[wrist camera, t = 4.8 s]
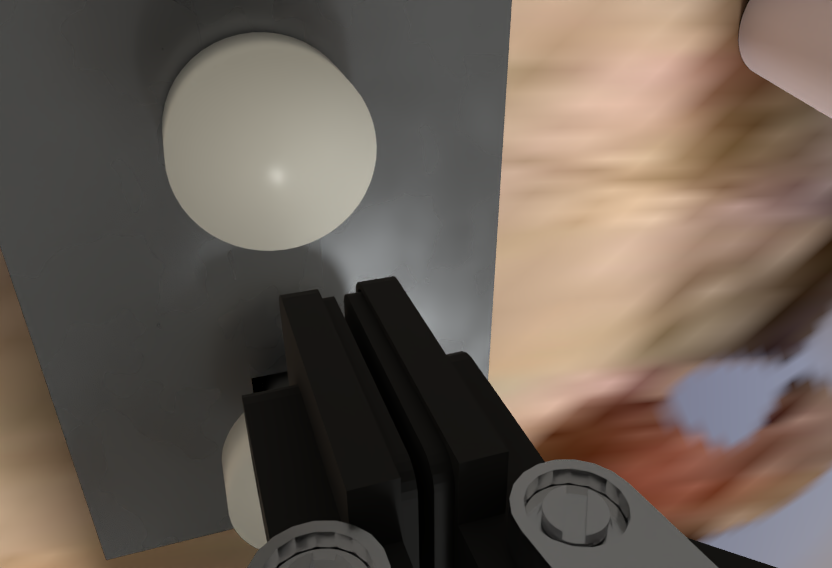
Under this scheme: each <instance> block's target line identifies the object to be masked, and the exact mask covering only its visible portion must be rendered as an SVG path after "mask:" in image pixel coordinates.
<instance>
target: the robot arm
mask: <svg viewBox="0 0 832 568" xmlns="http://www.w3.org/2000/svg"><path fill="white" fill-rule="evenodd" d="M279 306H280V315H281V323H282V331H283V339H284V347H285V356H286V364H287V372H288V380H289V386H287V387H282V388H277V389H272V390H267V391H262V392H257V393H252V394H247V395H242V403H243V410H244V416H245V422H246V428H247V434H248V440H249V446H250V452H251V458H252V464H253V470H254V475H255V481H256V486H257V492H258V497H259V503H260V508H261V513H262V519H263V524H264V529H265V534H266V540H267V543H266V544H265V545H264V546H263V547H261V548H260V549H259V550H258V551H257V553H256V554H255V556H254V558H253V559H252V561H251V562H250V564H249V566H248V567H247V568H776V567H773V566H770V565H767V564H764V563H761V562H758V561H755V560H752V559H749V558H746V557H743V556H740V555H737V554H734V553H731V552H728V551H725V550H722V549H719V548H716V547H713V546H710V545H707V544H704V543H701V542H698V541H695V540H692V539H689V538H686V537H685V536H684V535H683V534H682V533H681V532H680V531H679V530H678V529H677V528H676V527H675V526H674V525H672V524H671V523H670V522H669V521H668V520H667V519H666V518H665V517H664V516H663V515H662V514H661V513H660V512H659V511H658V510H657V509H655V508H654V507H653V506H652V505H651V504H650V503H649V502H648V501H647V500H646V499H645V498H644V497H643V496H642V495H641V494H640V493H638V492H637V491H636V490H635V489H634V488H633V487H632V486H631V485H630V484H629V483H628V482H626V481H625V480H624V479H622V478H621V477H619V476H618V475H617V474H615V473H614V472H612V471H610V470H608V469H606V468H603V467H601V466H599V465H596V464H593V463H589V462H584V461H579V460H553V461H549V462H544V460H543V459H542V457H541V456H540V454H539V453H538V452H537V450H536V449H535V447H534V446H533V444H532V443H531V442H530V440H529V439H528V437H527V436H526V434H525V433H524V431H523V430H522V429H521V427H520V426H519V424H518V423H517V421H516V420H515V419H514V417H513V416H512V414H511V413H510V411H509V410H508V409H507V407H506V406H505V404H504V403H503V401H502V400H501V399H500V397H499V396H498V394H497V393H496V391H495V390H494V389H493V387H492V386H491V384H490V383H489V381H488V380H487V379H486V377H485V376H484V374H483V373H482V371H481V370H480V369H479V367H478V366H477V364H476V363H475V361H474V360H473V359H472V357H471V356H470V355H469V354H468V353H467V352H464V351H460V352H455V353H450V354H446V353H445V352H444V350H443V349H442V347H441V346H440V344H439V342H438V341H437V339H436V338H435V336H434V335H433V333H432V332H431V330H430V329H429V327H428V326H427V324H426V322H425V321H424V319H423V318H422V316H421V315H420V313H419V312H418V310H417V309H416V307H415V306H414V304H413V302H412V301H411V299H410V298H409V296H408V295H407V293H406V292H405V290H404V289H403V287H402V285H401V284H400V282H399V281H398V279H397V278H396V277H395V276H391V277H385V278H379V279H373V280H367V281H361V282H357V284H356V292H355V293H349V294H345V295H344V313H345V318H344V316H343V313H342V311H341V309H340V307H339V305H338V303H337V301H336V299H335V297H334V296H332V297H326V298H322V296H321V294H320V292H319V290H318V289H314V290H308V291H302V292H296V293H290V294H284V295H279Z"/></svg>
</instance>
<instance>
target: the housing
mask: <svg viewBox="0 0 832 568" xmlns="http://www.w3.org/2000/svg"><path fill="white" fill-rule="evenodd" d="M511 5H512V0H0V247H1V250H2V253H3V256H4V259H5V262H6V265H7V268H8V271H9V274H10V277H11V280H12V283H13V286H14V289H15V292H16V295H17V297H18V300H19V303H20V306H21V309H22V312H23V315H24V318H25V321H26V324H27V327H28V330H29V333H30V336H31V339H32V342H33V345H34V348H35V351H36V354H37V357H38V360H39V363H40V366H41V369H42V371H43V374H44V377H45V380H46V383H47V386H48V389H49V392H50V395H51V398H52V401H53V404H54V407H55V410H56V413H57V416H58V419H59V422H60V425H61V428H62V431H63V434H64V437H65V440H66V442H67V445H68V448H69V451H70V454H71V457H72V460H73V463H74V466H75V469H76V472H77V475H78V478H79V481H80V484H81V487H82V490H83V493H84V496H85V499H86V502H87V505H88V508H89V511H90V513H91V516H92V519H93V522H94V525H95V528H96V531H97V534H98V537H99V540H100V543H101V546H102V549H103V552H104V555H105V558H106V560H108V559H112V558H117V557H121V556H125V555H129V554H133V553H137V552H141V551H145V550H149V549H153V548H157V547H161V546H165V545H169V544H173V543H177V542H181V541H185V540H189V539H194V538H198V537H202V536H206V535H210V534H214V533H218V532H222V531H226V530H230V529H234V527H233V525H232V523H231V520H230V517H229V512H228V504H227V497H226V489H225V482H224V475H223V467H222V450H223V446H224V443H225V440H226V438H227V435H228V433H229V431H230V430H231V428H232V426H233V425H234V423H235V422H236V421H237V420H238V418H239V417H240V416H241V415H242V414H243V413H244V410H243V403H242V395H247V394H252V393H253V387H252V381H251V378H255V377H261V376H266V375H271V374H276V373H281V372H286V371H287V364H286V356H285V347H284V339H283V331H282V323H281V315H280V306H279V295H284V294H290V293H296V292H302V291H308V290H314V289H318V290H319V292H320V294H321V296H322V298H326V297H332V296H334V297H335V299H336V301H337V303H338V305H339V307H340V309H341V311H342V313H343V316H344V318H345V313H344V295H345V294H349V293H355V292H356V284H357V282H361V281H367V280H373V279H379V278H385V277H391V276H395V277H396V278H397V279H398V281H399V282H400V284H401V285H402V287H403V289H404V290H405V292H406V293H407V295H408V296H409V298H410V299H411V301H412V302H413V304H414V306H415V307H416V309H417V310H418V312H419V313H420V315H421V316H422V318H423V319H424V321H425V322H426V324H427V326H428V327H429V329H430V330H431V332H432V333H433V335H434V336H435V338H436V339H437V341H438V342H439V344H440V346H441V347H442V349H443V350H444V352H445V353H446V354H450V353H455V352H460V351H464V352H467V353H468V354H469V355H470V356H471V357H472V359H473V360H474V361H475V363H476V364H477V366H478V367H479V369H480V370H481V371H482V373H483V374H484V376H485V377H486V379H487V380H488V371H489V355H490V339H491V323H492V307H493V291H494V275H495V259H496V243H497V227H498V212H499V196H500V180H501V164H502V148H503V132H504V116H505V100H506V84H507V69H508V53H509V37H510V21H511ZM251 32H269V33H277V34H282V35H286V36H290V37H293V38H296V39H298V40H301V41H303V42H305V43H307V44H309V45H311V46H312V47H314V48H316V49H317V50H319V51H320V52H321V53H322V54H324V55H325V56H326V57H328V59H329V60H330V61H331V62H332V63H333V64H334V65H335V66H336V67H337V68H338V69H339V70H340V71H341V72H342V74H343V75H344V76H345V77H346V78H347V79H348V80H349V81H350V83H351V84H352V85H353V86H354V87H355V89H356V90H357V91H358V93H359V94H360V95H361V97H362V99H363V100H364V102H365V104H366V106H367V108H368V110H369V113H370V115H371V118H372V120H373V125H374V129H375V134H376V144H377V150H376V162H375V168H374V172H373V176H372V179H371V182H370V185H369V187H368V189H367V191H366V194H365V195H364V197H363V199H362V200H361V202H360V203H359V205H358V206H357V207H356V209H355V210H354V211H353V213H352V214H351V215H350V216H349V217H348V218H347V219H346V220H345V221H344V222H343V223H342V224H341V225H339V226H338V227H337V228H335V229H334V230H333V231H331V232H330V233H328V234H327V235H325V236H323V237H322V238H319V239H317V240H315V241H313V242H311V243H308V244H305V245H302V246H299V247H295V248H290V249H286V250H275V251H261V250H253V249H246V248H242V247H238V246H235V245H232V244H229V243H227V242H224V241H222V240H220V239H218V238H216V237H214V236H213V235H211V234H209V233H208V232H207V231H205V230H204V229H202V228H201V227H200V226H199V225H197V224H196V223H195V222H194V221H193V220H192V219H191V218H190V217H189V216H188V214H187V213H186V212H185V211H184V209H183V208H182V207H181V205H180V204H179V202H178V200H177V199H176V197H175V195H174V193H173V191H172V188H171V186H170V184H169V180H168V176H167V173H166V168H165V159H164V148H163V136H162V117H163V111H164V105H165V102H166V99H167V96H168V92H169V90H170V88H171V86H172V84H173V82H174V80H175V79H176V77H177V76H178V74H179V73H180V71H181V70H182V69H183V68H184V66H185V65H186V64H187V63H188V62H189V61H190V60H191V59H192V58H193V57H194V56H196V55H197V54H198V53H199V52H201V51H202V50H203V49H205V48H207V47H208V46H210V45H212V44H213V43H215V42H218V41H220V40H222V39H225V38H227V37H231V36H235V35H238V34H244V33H251Z"/></svg>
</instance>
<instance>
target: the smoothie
mask: <svg viewBox="0 0 832 568" xmlns="http://www.w3.org/2000/svg"><path fill="white" fill-rule="evenodd" d="M739 49H740V53H741V56H742V59H743V61H744V63H745V64H746V65H747V67H748V68H749V69H750V70H752V71H753V72H755V73H756V74H758V75H760V76H761V77H763V78H765V79H766V80H768V81H770V82H771V83H773V84H775V85H776V86H778V87H780V88H781V89H783V90H785V91H786V92H788V93H790V94H791V95H793V96H795V97H796V98H798V99H800V100H801V101H803V102H805V103H806V104H808V105H810V106H812V107H813V108H815V109H817V110H818V111H820V112H822V113H823V114H825V115H827V116H828V117H830V118H832V0H749V2H748V4H747V6H746V8H745V11H744V13H743V16H742V20H741V24H740V29H739Z"/></svg>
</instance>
